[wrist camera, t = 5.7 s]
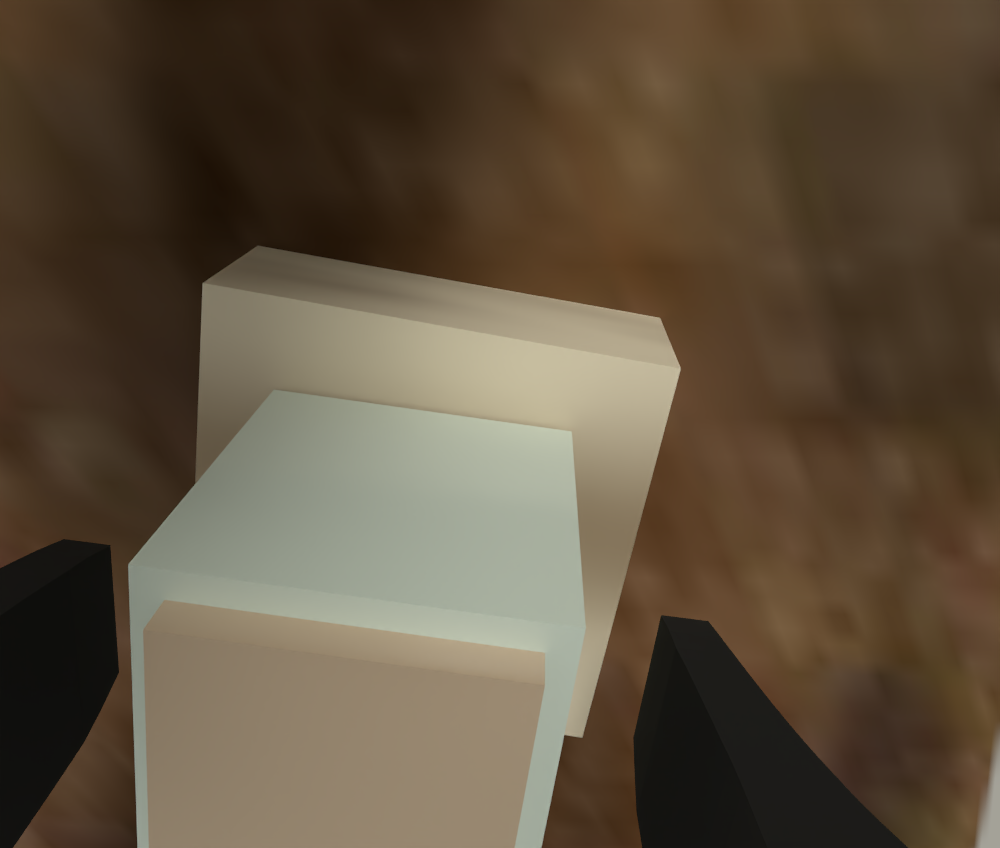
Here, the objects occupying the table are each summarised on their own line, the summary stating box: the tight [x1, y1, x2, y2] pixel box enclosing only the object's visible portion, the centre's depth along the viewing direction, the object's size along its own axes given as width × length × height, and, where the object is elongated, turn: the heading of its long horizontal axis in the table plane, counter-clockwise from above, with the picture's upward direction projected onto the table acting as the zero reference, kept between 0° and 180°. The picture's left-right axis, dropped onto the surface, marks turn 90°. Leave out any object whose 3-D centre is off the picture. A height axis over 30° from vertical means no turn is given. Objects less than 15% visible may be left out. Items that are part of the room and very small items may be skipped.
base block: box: [195, 246, 681, 738], centre depth 16 cm, size 7×7×3 cm
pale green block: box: [128, 390, 586, 848], centre depth 12 cm, size 4×4×6 cm
